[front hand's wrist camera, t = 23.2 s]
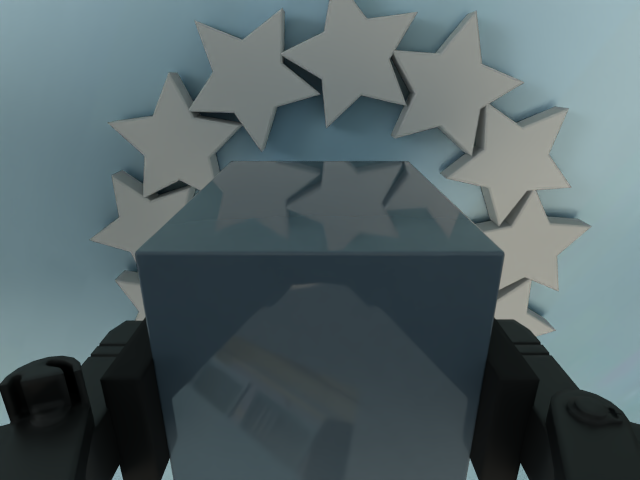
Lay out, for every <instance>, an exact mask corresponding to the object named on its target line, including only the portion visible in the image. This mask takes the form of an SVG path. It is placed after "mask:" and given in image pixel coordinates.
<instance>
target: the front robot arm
mask: <svg viewBox="0 0 640 480" xmlns="http://www.w3.org/2000/svg"><path fill="white" fill-rule="evenodd" d="M540 343H541V342H540V341H539V340H538V339H537V338H536V336H535V335H534V334H533V333H532V332H531V330H530V329H528V328H526V327H525V326H523V325H522V324H520V323H519V322H517V321H516V320H514V319H495V317H494V320H493V326H492V332H491V338H490V344H489V349H488V355H487V361H486V367H485V373H484V378H483V384H482V390H481V396H480V402H479V407H478V413H477V419H476V425H475V430H474V436H473V442H472V448H471V454H470V459H471V462H472V464H473V467H474V469H475V472H476V474H477V477H478V479H479V480H517V475H518V471H519V467H520V463H521V465H522V467H523V469H524V470H525V472H526V474H527V476H528V478H529V480H640V424H636V423H632V422H630V421H629V420H628V418H627V417H626V416H625V414H624V413H623V411H622V410H620V409H619V408H618V407H617V406H615V405H614V404H613V403H612V402H610V401H608V400H606V399H604V398H602V397H601V396H599V395H597V394H594V393H590V392H587V391H584V390H580V389H579V388H578V387H577V386H576V384H575V383H574V382H573V381H572V380H571V378H570V377H569V376H568V375H567V374H566V372H565V371H564V370H563V369H562V368H561V366H560V365H559V364H558V363H557V362H556V360H555V359H554V358H553V357H552V356H551V355H549V352H548V351H547V350H546V348H545V347H544V346H543V345H541V344H540ZM0 392H1V395H2V398H3V401H4V404H5V407H6V410H7V413H8V416H9V419H10V421H11V422H10V424H7V425H4V426H0V480H112V478H113V476H114V474H115V472H116V470H117V468H118V466H119V464H120V468H121V472H122V477H123V480H161V479H162V476H163V474H164V471H165V469H166V466H167V464H168V461H169V458H170V456H169V451H168V445H167V439H166V433H165V427H164V422H163V416H162V410H161V404H160V398H159V392H158V387H157V381H156V375H155V369H154V363H153V358H152V352H151V346H150V340H149V334H148V329H147V323H146V317H145V318H144V320H143V321H125V322H123V323H122V324H120V325H119V326H117V327H116V328H114V329H113V330H111V331H110V332H109V333H108V334H107V335H106V337H105V338H104V339H103V340H102V341H101V343H100V345H99V346H97V347H96V349H95V350H94V351H93V352H92V353H91V357H88V358H87V360H86V361H85V362H84V363H83V364H82V366H81V365H80V362H79V361H77V360H76V359H75V358H73V357H67V356H54V357H47V358H43V359H40V360H36V361H33V362H31V363H28V364H26V365H24V366H22V367H20V368H18V369H16V370H15V371H14V372H12V373H11V374H9V375H8V376H6V378H5V379H4V380H3V381H2V382H1V384H0Z"/></svg>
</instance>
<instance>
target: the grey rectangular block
mask: <svg viewBox="0 0 640 480" xmlns="http://www.w3.org/2000/svg"><path fill="white" fill-rule="evenodd" d="M504 257H505V253H504V251H503V250H502V249H501V248H500V247H499V246H498V245H497V244H495V243H494V242H493V241H492V240H491V239H490V238H489V237H488V236H487V235H486V234H485V233H484V232H483V231H482V230H481V229H480V228H479V227H477V226H476V225H475V224H474V223H473V222H472V221H471V220H470V219H469V218H468V217H467V216H466V215H465V214H464V213H463V212H462V211H461V210H459V209H458V208H457V207H456V206H455V205H454V204H453V203H452V202H451V201H450V200H449V199H448V198H447V197H446V196H445V195H444V194H443V193H441V192H440V191H439V190H438V189H437V188H436V187H435V186H434V185H433V184H432V183H431V182H430V181H429V180H428V179H427V178H426V177H425V176H423V175H422V174H421V173H420V172H419V171H418V170H417V169H416V168H415V167H414V166H413V165H412V164H411V163H410V162H408V161H231V162H230V163H229V164H228V165H227V166H226V167H225V168H224V169H223V170H222V171H220V172H219V173H218V174H217V175H216V176H215V177H214V178H213V179H212V180H211V181H210V182H209V183H208V184H207V185H206V186H205V187H204V188H202V189H201V190H200V191H199V192H198V193H197V194H196V195H195V196H194V197H193V198H192V199H191V200H190V201H189V202H188V203H187V204H185V205H184V206H183V207H182V208H181V209H180V210H179V211H178V212H177V213H176V214H175V215H174V216H173V217H172V218H171V219H170V220H168V221H167V222H166V223H165V224H164V225H163V226H162V227H161V228H160V229H159V230H158V231H157V232H156V233H155V234H154V235H153V236H151V237H150V238H149V239H148V240H147V241H146V242H145V243H144V244H143V245H142V246H141V247H140V248H139V249H138V250H137V251H136V252H135V259H136V265H137V270H138V276H139V282H140V288H141V294H142V299H143V305H144V311H145V317H146V323H147V329H148V334H149V340H150V346H151V352H152V358H153V363H154V369H155V375H156V381H157V387H158V392H159V398H160V404H161V410H162V416H163V422H164V427H165V433H166V439H167V445H168V451H169V456H170V462H171V468H172V474H173V480H466V477H467V471H468V465H469V459H470V454H471V448H472V442H473V436H474V430H475V425H476V419H477V413H478V407H479V402H480V396H481V390H482V384H483V378H484V373H485V367H486V361H487V355H488V349H489V344H490V338H491V332H492V326H493V320H494V315H495V309H496V303H497V297H498V292H499V286H500V280H501V274H502V268H503V263H504Z"/></svg>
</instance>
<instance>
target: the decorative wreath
mask: <svg viewBox="0 0 640 480" xmlns="http://www.w3.org/2000/svg"><path fill="white" fill-rule="evenodd" d="M416 14H417V12H413V13H406V14H398V15H391V16H383V17H376V18H368V19H367V18H366V16H365V15H364V14H363V12H362V11H361V10H360V8H359V7H358V6H357V4H356V3H355V2H354V1H353V0H329V6H328V11H327V17H326V22H325V28H324V32H322V33H320V34H318V35H316V36H314V37H312V38H310V39H308V40H306V41H304V42H302V43H300V44H298V45H296V46H294V47H292V48H290V49H288V50H286V51H284V39H285V12H284V10H283V8H282V9H280V10H279V11H278V12H277V13H275V14H274V15H273V16H272V17H270V18H269V19H268V20H267V21H265V22H264V23H263V24H262V25H260V26H259V27H258V28H257V29H255V30H254V31H253V32H252V33H250V34H249V35H248V36H247V37H245V38H244V39H243V40H242V39H240V38H237V37H235V36H232V35H230V34H227V33H225V32H222V31H220V30H217V29H215V28H212V27H210V26H207V25H205V24H202V23H200V22H197V21H195V20H194V21H195V24H196V26H197V29H198V32H199V35H200V37H201V40H202V43H203V46H204V49H205V51H206V54H207V57H208V60H209V62H210V65H211V68H212V71H213V73H212V74H211V76H210V77H209V79H208V81H207V82H206V84H205V85H204V87H203V88H202V90H201V91H200V93H199V94H198V96H197V97H196V99H195V100H194V102H193V100H192V98H191V96H190V95H189V93H188V91H187V89H186V87H185V85H184V84H183V82H182V80H181V78H180V76H179V75H178V73H174V72H169V73H168V76H167V78H166V81H165V84H164V86H163V89H162V92H161V95H160V97H159V100H158V103H157V105H156V108H155V111H154V114H153V116H147V117H139V118H132V119H124V120H117V121H113V122H108V124H109V125H110V126H112V127H113V128H114V129H115V130H116V131H117V132H118V133H119V134H121V135H122V136H123V137H124V138H125V139H126V140H127V141H128V142H129V143H131V144H132V145H133V146H134V147H135V148H136V149H137V150H138V151H139V152H141V153H142V154H143V155H144V181H143V183H141V182H140V181H138V180H137V179H135V178H134V177H132V176H131V175H129V174H128V173H126V172H125V171H123V170H121V171H119V172H117V173H115V174H113V175H112V181H113V186H114V192H115V198H116V203H117V209H118V214H119V218H117V219H116V220H115V221H113V222H112V223H111V224H109V225H108V226H107V227H106V228H104V229H103V230H102V231H100V232H99V233H98V234H96V235H95V236H94V237H92V238H91V239H90V240H91V241H94V242H98V243H101V244H104V245H108V246H111V247H115V248H118V249H122V250H125V251H129V252H131V254H132V256H133V258H134V260H135V262H136V259H135V252H136V251H137V250H138V249H139V248H140V247H141V246H142V245H143V244H144V243H145V242H146V241H147V240H148V239H149V238H150V237H151V236H153V235H154V234H155V233H156V232H157V231H158V230H159V229H160V228H161V227H162V226H163V225H164V224H165V223H166V222H167V221H168V220H170V219H171V218H172V217H173V216H174V215H175V214H176V213H177V212H178V211H179V210H180V209H181V208H182V207H183V206H184V205H185V204H187V203H188V202H189V201H190V200H191V199H192V198H193V197H194V193H195V189H198V190H201V189H202V188H204V187H205V186H206V185H207V184H208V183H209V182H210V181H211V180H212V179H213V178H214V177H215V176H216V175H217V174H218V173H219V172H220V170H219V166H218V161H217V157H216V152H217V151H218V150H219V149H220V148H221V147H222V146H223V145H224V144H225V143H226V142H227V141H228V140H229V139H230V138H231V137H232V136H233V135H234V134H235V133H236V132H237V131H238V130H239V129H240V128H241V127H242V126H244V128H245V129H246V131H247V132H248V133H249V135H250V136H251V138H252V139H253V140H254V142H255V143H256V145H257V146H258V148H259V149H260V150H261V152H262V151H263V150H264V149H265V146H266V143H267V140H268V137H269V133H270V130H271V127H272V123H273V120H274V117H275V114H276V110H277V107H279V106H282V105H286V104H289V103H293V102H296V101H299V100H303V99H306V98H310V97H313V96H316V95H320V94H321V93H319V92H318V91H317V90H316V89H315V88H313V87H312V86H311V85H310V84H308V83H307V82H306V81H305V80H304V79H302V78H301V77H300V76H299V75H297V74H296V73H295V72H294V71H292V70H291V69H290V68H289V67H288V66H286V65H285V64H284V57H285V58H287V59H288V60H290V61H292V62H293V63H295V64H297V65H298V66H300V67H302V68H303V69H305V70H307V71H308V72H310V73H312V74H313V75H315V76H317V77H318V78H320V79H322V89H323V99H324V110H325V121H326V128H327V127H328V126H329V125H331V124H332V123H333V122H334V121H335V120H336V119H337V118H338V117H339V116H340V115H341V114H342V113H343V112H344V111H345V110H346V109H347V108H349V107H350V106H351V105H352V104H353V103H354V102H355V101H356V100H357V99H358V98H359V97H360V96H366V97H370V98H374V99H379V100H383V101H387V102H392V103H396V104H400V105H404V107H403V109H402V111H401V114H400V116H399V118H398V120H397V122H396V125H395V127H394V129H393V131H392V133H391V136H392V137H393V138H399V137H402V136H406V135H410V134H414V133H417V132H421V131H425V130H428V129H432V128H436V127H438V128H439V129H440V130H441V131H442V132H443V133H444V134H445V135H446V136H447V137H448V138H449V139H450V140H452V141H453V142H454V143H455V144H456V145H457V146H458V147H459V148H460V149H461V150H462V151H463V152H465V154H464V155H463V156H461V157H460V158H459V159H458V160H456V161H455V162H454V163H452V164H451V165H450V166H448V167H447V168H446V169H445V170H443V171H442V172H441V173H440V174H442V175H443V176H444V177H445V178H447V179H451V180H455V181H460V182H464V183H469V184H473V185H477V186H481V189H482V193H483V196H484V200H485V203H486V207H487V210H488V214H489V217H490V219H491V221H486V222H482V223H477V224H475V225H476V226H477V227H479V228H480V229H481V230H482V231H483V232H484V233H485V234H486V235H487V236H488V237H489V238H490V239H491V240H492V241H493V242H494V243H495V244H497V245H498V246H499V247H500V248H501V249H502V250H503V251H504V253H505V257H504V263H503V268H502V274H501V280H500V286H499V292H498V297H497V303H496V309H495V315H494V317H495V319H514V320H516V321H517V322H519V323H520V324H522V325H523V326H525V327H526V328H528V329H530V330H531V332H532V333H533V334H534V335H535V336H539V335H542V334H546V333H549V332H552V331H556V330H555V329H554V328H553V327H552V326H551V325H550V323H549V322H548V321H547V320H546V319H545V318H543V317H542V316H540V315H538V314H537V313H535V312H533V311H532V310H530V309H529V308H528V301H529V294H530V287H531V281H532V280H533V281H535V282H538V283H540V284H542V285H545V286H547V287H549V288H552V289H554V290H557V291H559V287H558V265H557V255H558V254H560V253H561V252H562V251H563V250H564V249H566V248H567V247H568V246H569V245H570V244H571V243H573V242H574V241H575V240H576V239H577V238H579V237H580V236H581V235H582V234H583V233H584V232H586V231H587V230H588V229H589V228H590V227H592V226H590V225H588V224H587V223H585V222H583V221H581V220H579V219H574V218H560V217H547V215H546V213H545V211H544V208H543V206H542V203H541V201H540V199H539V196H538V194H537V191H536V190H544V189H558V188H571V186H570V184H569V183H568V182H567V180H566V179H565V177H564V176H563V174H562V173H561V171H560V170H559V168H558V167H557V165H556V164H555V162H554V161H553V160H552V158H551V157H550V155H549V153H550V151H551V148H552V146H553V144H554V141H555V139H556V137H557V135H558V132H559V130H560V128H561V125H562V123H563V121H564V118H565V116H566V114H567V112H568V109H569V108H563V107H553V108H550V109H548V110H546V111H543V112H541V113H538V114H536V115H534V116H531V117H529V118H526V119H524V120H522V121H519V122H517V123H515V122H514V121H513V120H511V119H510V118H508V117H507V116H506V115H504V114H503V113H501V112H500V111H499V110H497V109H496V108H494V107H493V106H491V105H490V103H491V102H493V101H495V100H496V99H498V98H500V97H501V96H503V95H505V94H506V93H508V92H510V91H511V90H513V89H514V88H516V87H518V86H519V85H521V84H523V83H524V82H522V81H520V80H518V79H516V78H513V77H511V76H509V75H506V74H504V73H502V72H500V71H497V70H495V69H493V68H490V67H488V66H486V65H484V64H482V58H481V49H480V39H479V30H478V20H477V10H476V11H474V12H472V13H470V14H467V15H466V17H465V18H464V19H463V20H462V21H461V23H460V24H459V25H458V26H457V27H456V29H455V30H454V31H453V32H452V33H451V35H450V36H449V37H448V38H447V39H446V41H445V42H444V43H443V44H442V46H441V47H440V48H439V49H438V50H437V52H436V53H425V52H412V51H398V50H396V48H397V46H398V45H399V43H400V41H401V40H402V38H403V36H404V34H405V33H406V31H407V29H408V28H409V26H410V24H411V23H412V21H413V19H414V18H415V16H416ZM390 58H391V59H392V61H393V62H394V64H395V66H396V68H397V70H398V72H399V73H400V75H401V77H402V79H403V81H404V83H405V85H406V86H407V88H408V90H409V92H410V94H409V96H408V98H407V100H406V102H405V100H404V97H403V94H402V91H401V89H400V86H399V83H398V81H397V78H396V75H395V73H394V70H393V67H392V64H391V62H390ZM199 112H221V113H235V115H236V116H237V118H238V119H239V121H240V122H235V121H229V120H224V119H218V118H213V117H207V116H201V115H200V113H199ZM475 136H476V145H475V146H474V141H475ZM178 180H180V181H182V182H184V183H186V184H188V185H187V186H184V187H181V188H178V189H175V190H172V191H169V192H166V193H163V194H160V195H159V194H158V193H156V192H157V191H159V190H161V189H163V188H165V187H167V186H169V185H171V184H173V183H175V182H177V181H178ZM115 281H116V282H117V284H118V285H119V286H120V288H121V289H122V290H123V291H124V293H125V294H126V295H127V297H128V298H129V299H130V300H131V302H132V303H133V304H134V306H135V307H136V308H137V309H138V311H139V312H138V315H137V317H136V319H135V321H143V320H144V318H145V311H144V305H143V299H142V294H141V288H140V282H139V276H138V272H132V271H126V270H125V271H124V272H123V273H122V274H121V275H120V276H119V277H117V278H116V279H115Z"/></svg>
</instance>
